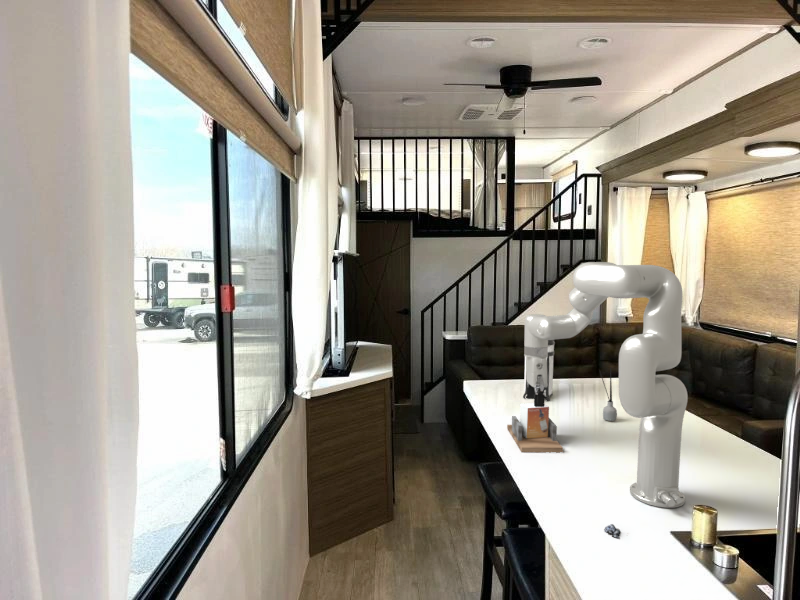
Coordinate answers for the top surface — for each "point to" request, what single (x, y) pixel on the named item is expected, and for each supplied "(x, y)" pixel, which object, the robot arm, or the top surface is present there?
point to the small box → (534, 420)
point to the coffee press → (549, 372)
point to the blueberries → (612, 531)
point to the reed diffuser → (609, 405)
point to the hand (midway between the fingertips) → (535, 402)
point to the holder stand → (535, 439)
